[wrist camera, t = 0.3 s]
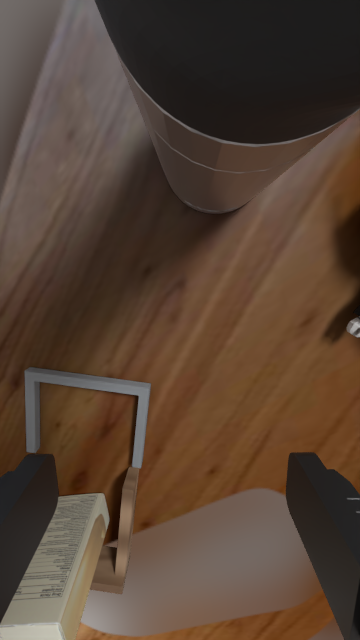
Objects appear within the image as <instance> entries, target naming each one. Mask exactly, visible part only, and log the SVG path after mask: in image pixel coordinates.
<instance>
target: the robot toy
mask: <svg viewBox="0 0 360 640" xmlns="http://www.w3.org/2000/svg"><path fill="white" fill-rule="evenodd" d="M353 313H355V314H357V315H358V316H360V305H359V306H358V307H357V309H356V310H355V311H354V312H353ZM346 329H347V332H349V333H351V334H353V335H354V336H356V337H360V317H357V318H355V319H353V320H351V321H349V323H348V325H347V327H346Z"/></svg>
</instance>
